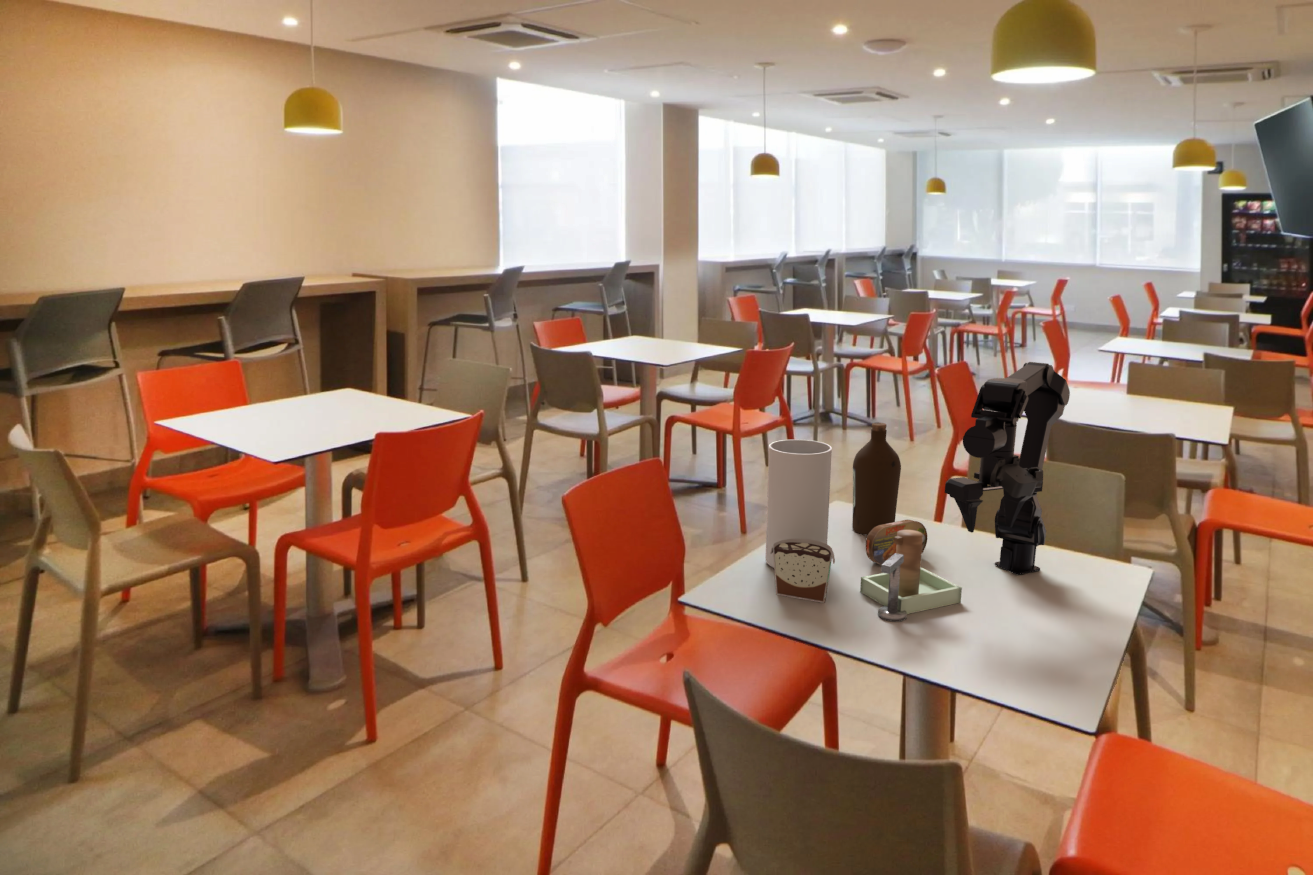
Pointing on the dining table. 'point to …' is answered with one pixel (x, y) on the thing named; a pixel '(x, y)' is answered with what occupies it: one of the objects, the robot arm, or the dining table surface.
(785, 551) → the food container
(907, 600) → the tray
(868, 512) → the olive oil
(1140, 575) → the dining table surface
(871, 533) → the tin
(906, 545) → the brown coffee tumbler
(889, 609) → the t stake
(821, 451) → the cylinder vase
